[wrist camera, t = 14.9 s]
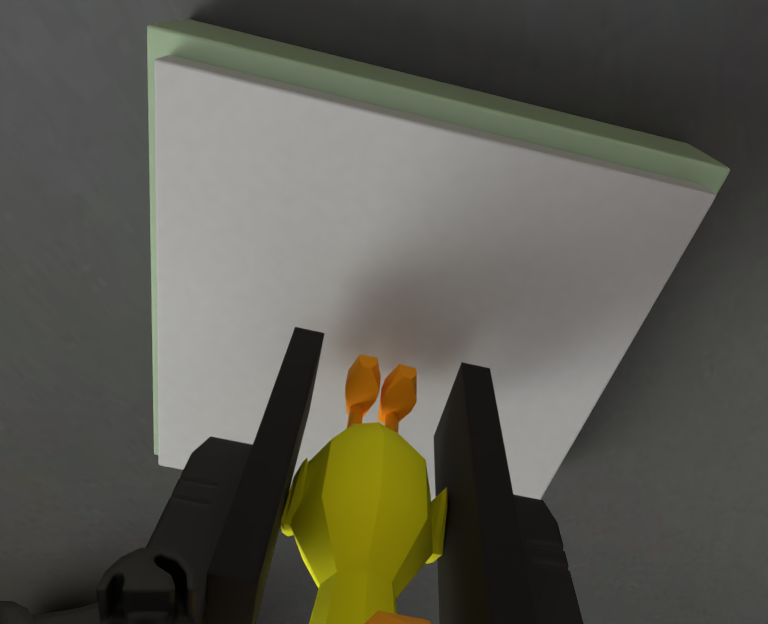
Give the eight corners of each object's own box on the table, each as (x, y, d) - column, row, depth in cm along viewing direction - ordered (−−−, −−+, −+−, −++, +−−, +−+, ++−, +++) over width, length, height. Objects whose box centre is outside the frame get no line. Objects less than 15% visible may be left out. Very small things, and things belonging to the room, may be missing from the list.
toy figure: (344, 258, 12) (32, 1569, 2) (489, 295, 13) (809, 1566, 3) (296, 454, 16) (93, 1300, 6) (411, 478, 16) (413, 1317, 6)
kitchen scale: (689, 143, 15) (751, 179, 12) (509, 487, 22) (522, 556, 20) (185, 17, 14) (128, 25, 11) (178, 422, 21) (143, 486, 19)
